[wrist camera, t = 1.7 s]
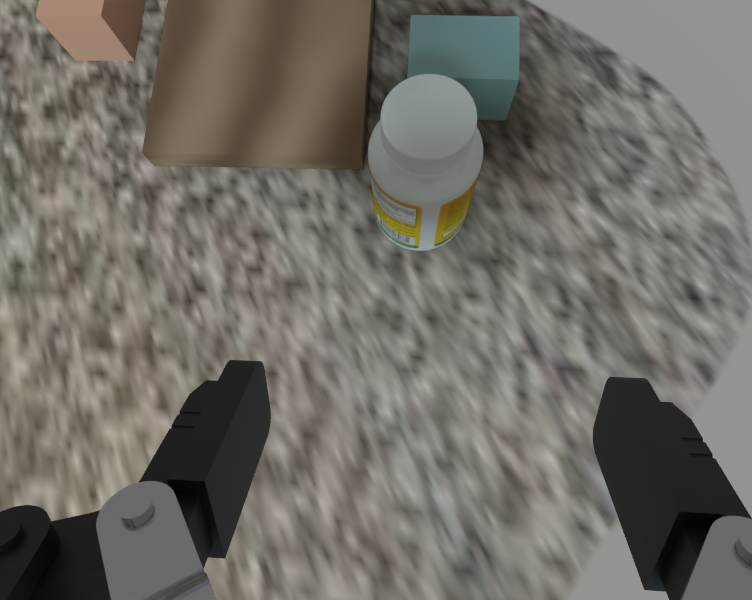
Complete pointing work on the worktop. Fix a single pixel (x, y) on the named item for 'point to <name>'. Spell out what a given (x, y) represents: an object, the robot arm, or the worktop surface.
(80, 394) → the worktop surface
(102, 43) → the terracotta block
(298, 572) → the worktop surface
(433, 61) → the teal block
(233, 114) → the walnut board
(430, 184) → the supplement bottle
